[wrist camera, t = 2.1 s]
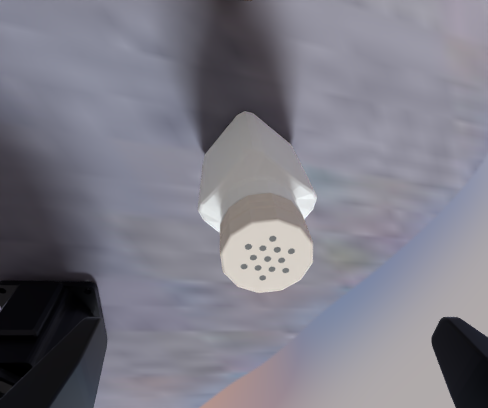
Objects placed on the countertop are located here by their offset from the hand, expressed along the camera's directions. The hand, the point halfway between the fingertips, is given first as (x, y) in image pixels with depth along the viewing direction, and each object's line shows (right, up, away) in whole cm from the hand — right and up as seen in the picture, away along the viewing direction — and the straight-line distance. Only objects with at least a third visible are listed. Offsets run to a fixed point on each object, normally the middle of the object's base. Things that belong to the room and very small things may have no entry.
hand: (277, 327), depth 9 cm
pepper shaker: (-1, +6, +11) cm, 13 cm away
